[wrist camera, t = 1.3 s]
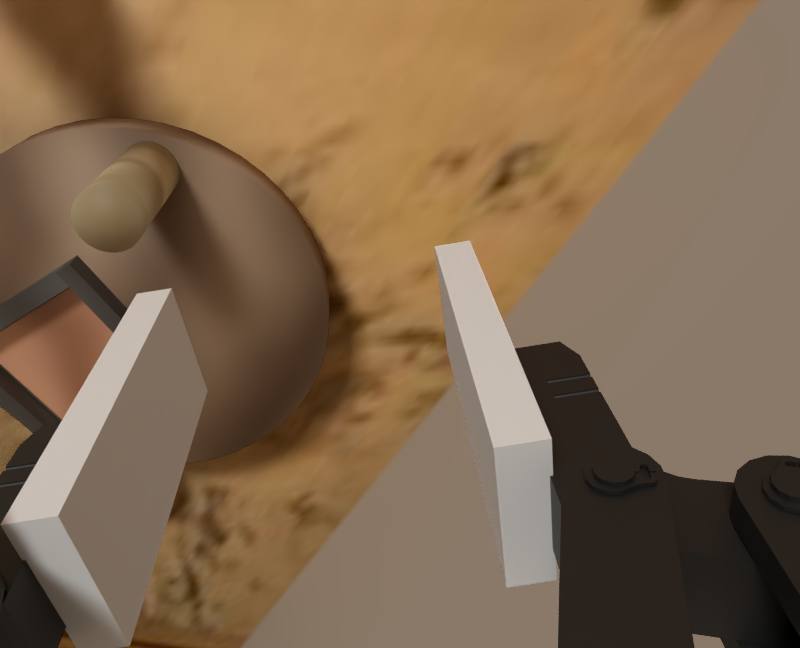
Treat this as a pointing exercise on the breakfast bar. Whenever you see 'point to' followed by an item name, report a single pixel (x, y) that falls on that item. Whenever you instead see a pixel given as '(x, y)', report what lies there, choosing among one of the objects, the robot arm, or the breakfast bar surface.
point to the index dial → (156, 272)
